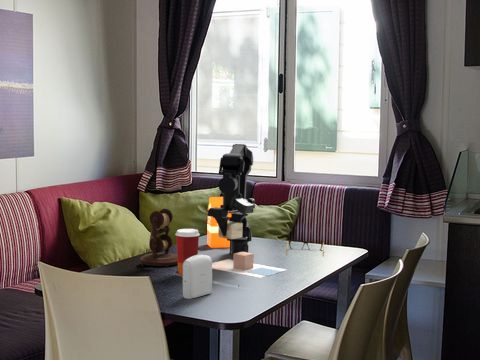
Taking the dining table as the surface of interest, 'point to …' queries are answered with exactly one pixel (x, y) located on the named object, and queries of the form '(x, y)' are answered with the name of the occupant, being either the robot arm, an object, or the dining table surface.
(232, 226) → the birch block
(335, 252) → the dining table surface
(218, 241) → the orange juice
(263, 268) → the white board
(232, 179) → the robot arm
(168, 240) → the wooden spool stand
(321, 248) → the eyeglasses
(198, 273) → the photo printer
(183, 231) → the coffee cup
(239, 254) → the terracotta block
